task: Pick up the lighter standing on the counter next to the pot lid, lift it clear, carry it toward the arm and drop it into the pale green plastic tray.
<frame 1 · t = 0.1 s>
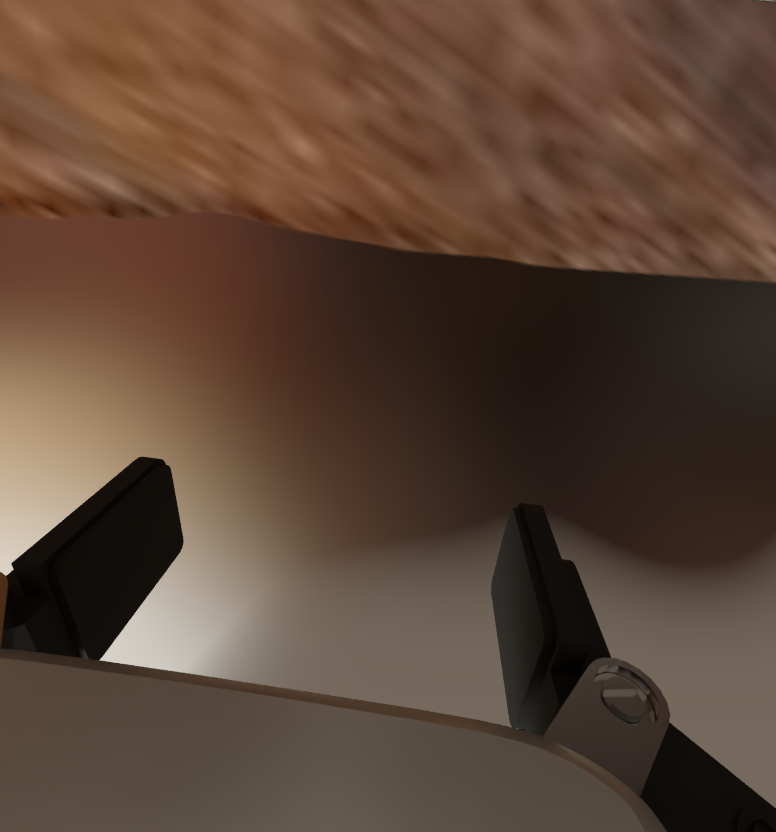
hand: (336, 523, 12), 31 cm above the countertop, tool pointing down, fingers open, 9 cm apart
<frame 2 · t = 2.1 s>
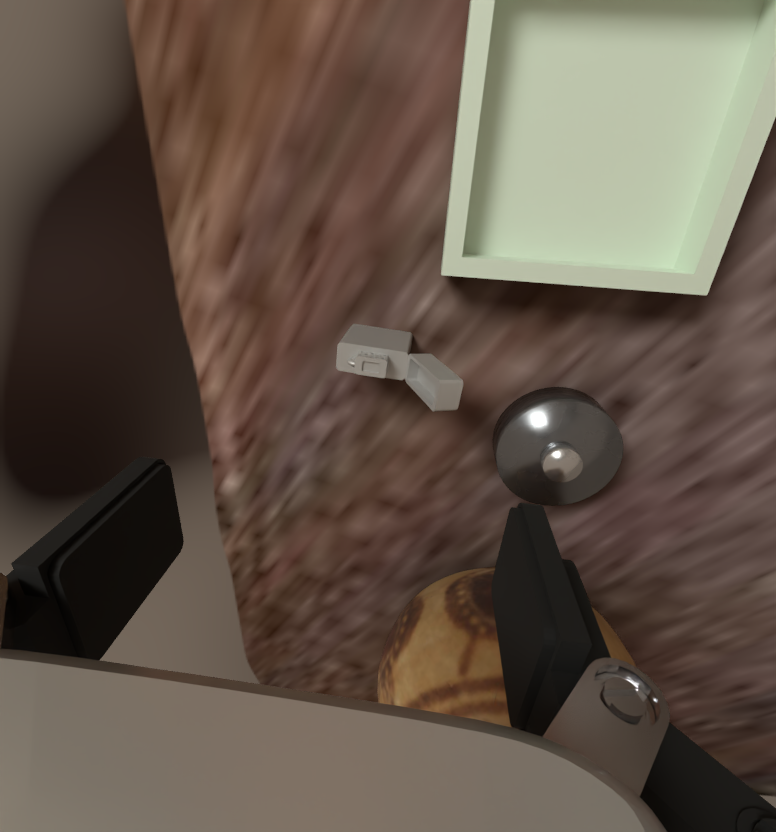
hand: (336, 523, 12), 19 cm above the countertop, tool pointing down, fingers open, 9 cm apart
lighter: (402, 343, 29), on the countertop
tray: (588, 139, 23), on the countertop
clay pot: (493, 609, 39), on the countertop
pot lid: (549, 439, 31), on the countertop
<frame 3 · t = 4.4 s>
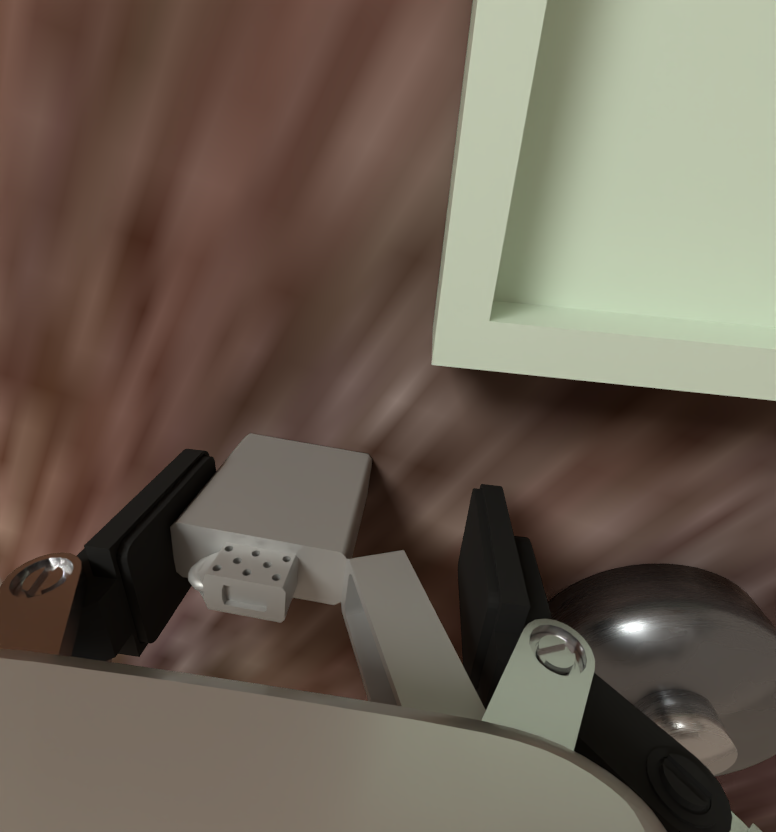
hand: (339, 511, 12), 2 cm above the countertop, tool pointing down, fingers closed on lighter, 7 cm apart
lighter: (353, 471, 14), on the countertop, touching gripper
pot lid: (639, 645, 16), on the countertop
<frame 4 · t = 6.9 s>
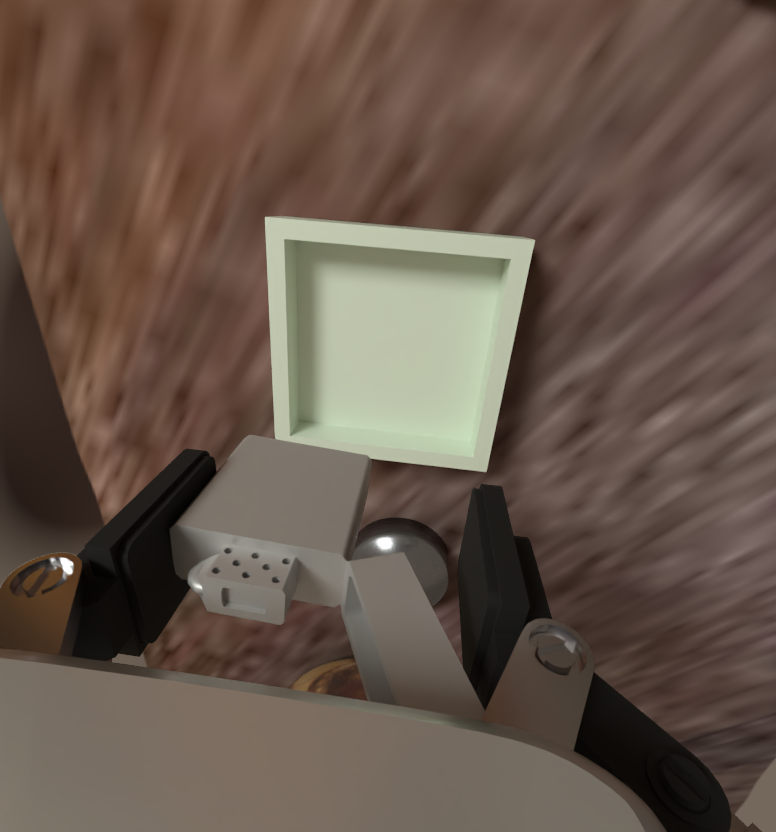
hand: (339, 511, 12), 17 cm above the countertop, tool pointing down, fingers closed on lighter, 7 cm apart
lighter: (352, 472, 14), point 15 cm above the countertop, touching gripper
tray: (392, 343, 28), on the countertop
clay pot: (374, 685, 44), on the countertop
pot lid: (398, 556, 36), on the countertop
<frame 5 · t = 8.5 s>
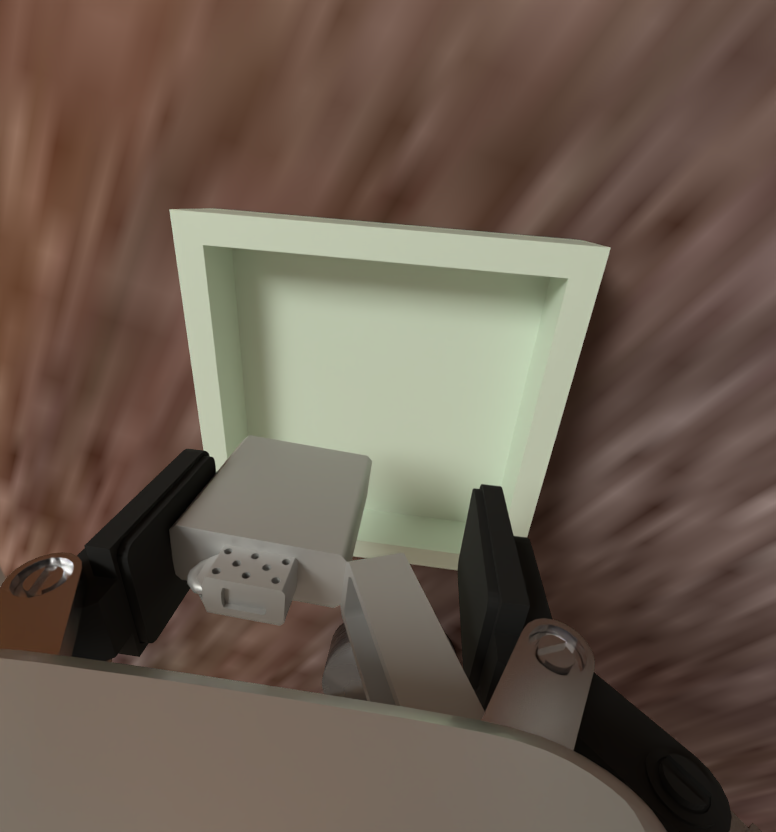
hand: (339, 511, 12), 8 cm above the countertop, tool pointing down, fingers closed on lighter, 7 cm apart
lighter: (352, 472, 14), point 6 cm above the countertop, touching gripper
tray: (380, 393, 19), on the countertop
pot lid: (392, 654, 27), on the countertop
when the fingers open (4 cm above the countertop, at t = 9.9 s): lighter drops 2 cm, resting on tray.
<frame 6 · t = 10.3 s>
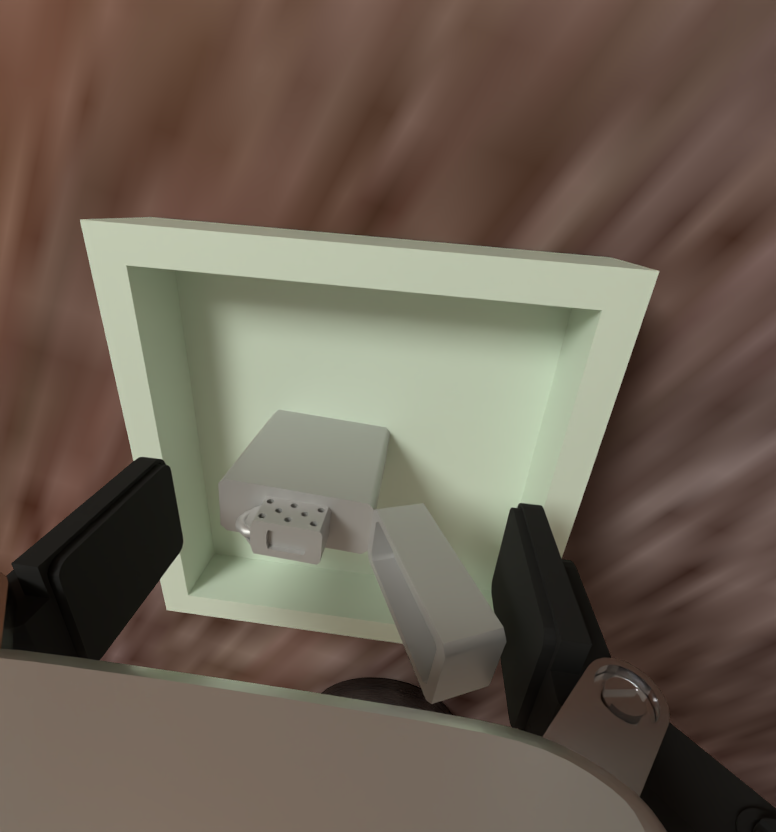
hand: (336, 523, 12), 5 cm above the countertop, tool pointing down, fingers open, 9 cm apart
lighter: (372, 444, 15), point 1 cm above the countertop, touching tray
tray: (363, 438, 16), on the countertop
pot lid: (382, 723, 24), on the countertop
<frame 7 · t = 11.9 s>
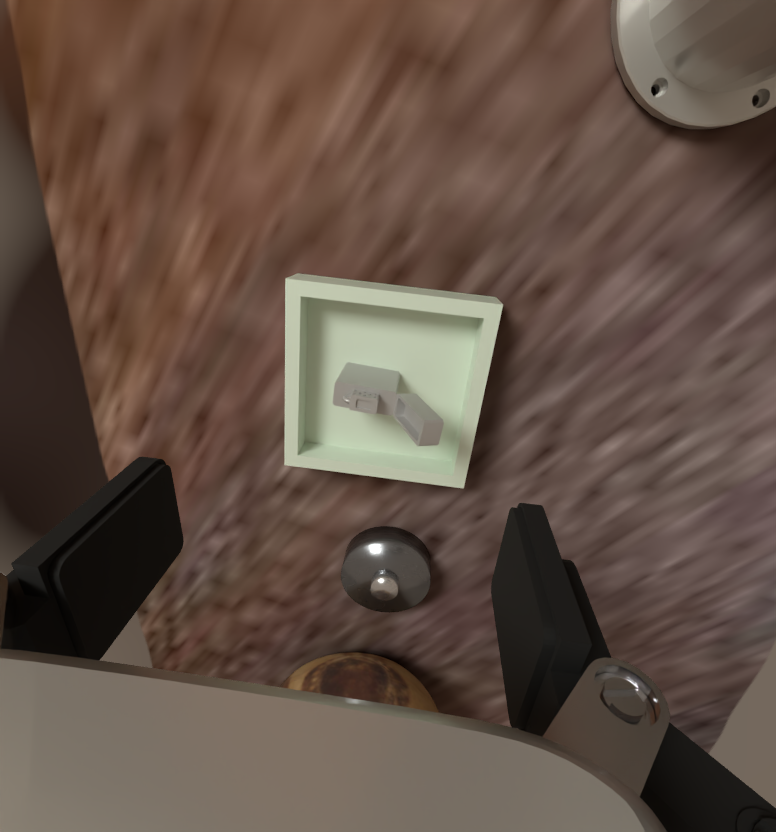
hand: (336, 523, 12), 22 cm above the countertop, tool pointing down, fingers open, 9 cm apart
lighter: (391, 380, 32), point 1 cm above the countertop, touching tray
tray: (386, 378, 33), on the countertop
clay pot: (362, 679, 48), on the countertop
pot lid: (387, 560, 40), on the countertop
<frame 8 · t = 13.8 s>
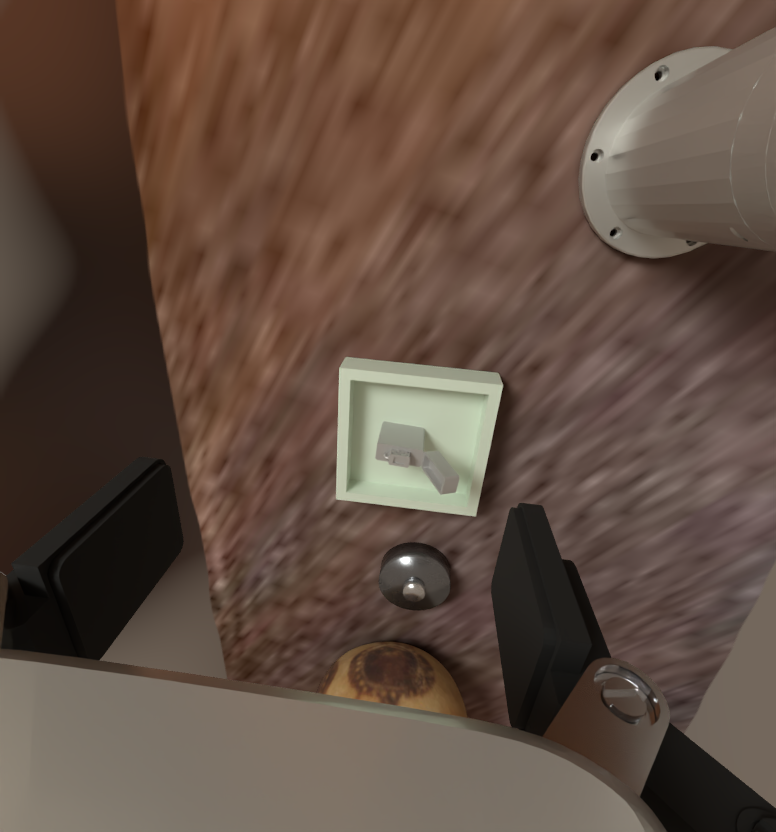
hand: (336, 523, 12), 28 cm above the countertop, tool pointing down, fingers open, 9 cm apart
lighter: (417, 433, 42), point 1 cm above the countertop, touching tray
tray: (413, 432, 42), on the countertop
clay pot: (394, 663, 58), on the countertop
pot lid: (415, 568, 50), on the countertop
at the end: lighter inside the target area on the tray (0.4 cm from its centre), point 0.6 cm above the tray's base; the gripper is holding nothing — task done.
